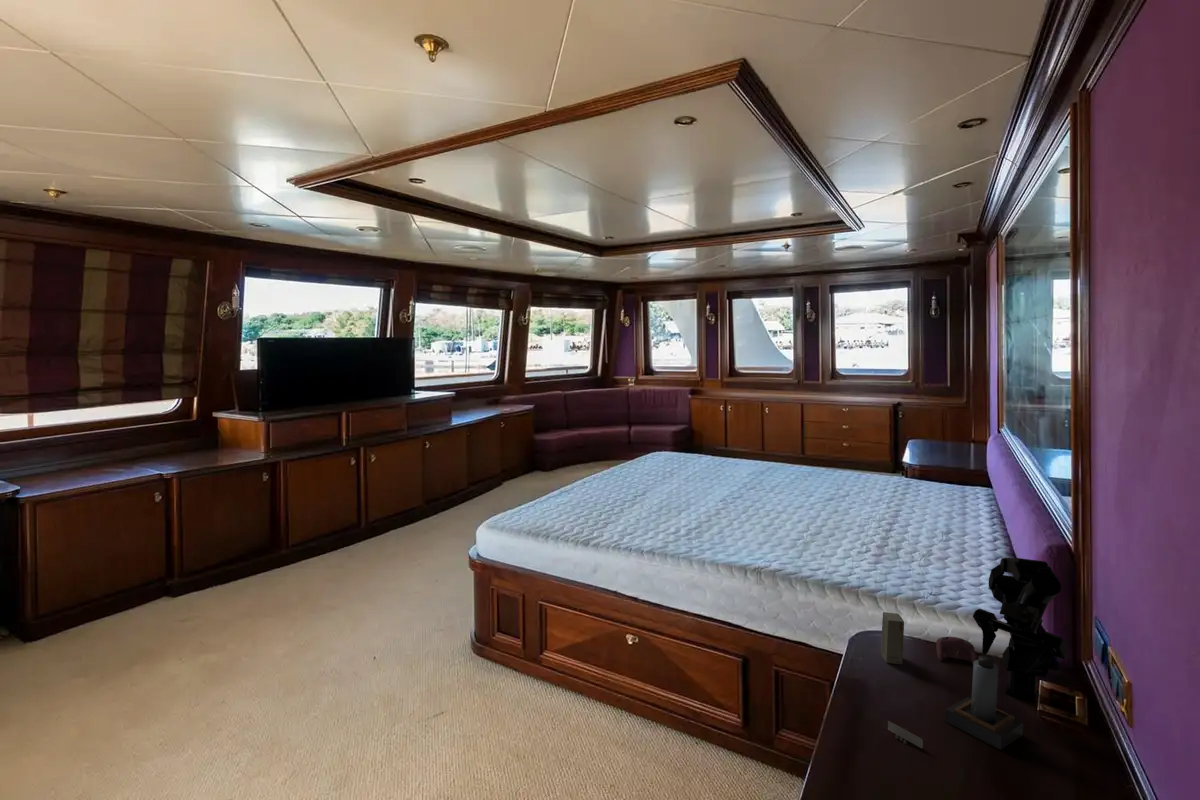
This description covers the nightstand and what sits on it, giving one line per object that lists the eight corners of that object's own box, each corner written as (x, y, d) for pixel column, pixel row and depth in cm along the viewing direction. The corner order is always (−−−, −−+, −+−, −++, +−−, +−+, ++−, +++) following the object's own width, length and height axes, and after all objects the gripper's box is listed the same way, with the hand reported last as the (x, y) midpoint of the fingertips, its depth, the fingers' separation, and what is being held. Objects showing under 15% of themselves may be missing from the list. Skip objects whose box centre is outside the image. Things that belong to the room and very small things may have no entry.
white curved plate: (913, 755, 132) (914, 742, 132) (878, 736, 139) (879, 723, 138) (922, 750, 134) (923, 736, 134) (887, 730, 141) (888, 718, 140)
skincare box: (902, 665, 169) (905, 622, 168) (885, 663, 170) (888, 620, 169) (896, 654, 176) (898, 612, 175) (880, 652, 177) (882, 611, 176)
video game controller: (974, 666, 173) (972, 640, 175) (978, 666, 169) (977, 639, 171) (934, 660, 176) (934, 634, 178) (938, 660, 172) (937, 633, 174)
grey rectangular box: (967, 708, 149) (968, 693, 149) (1022, 735, 139) (1023, 719, 139) (944, 721, 144) (946, 705, 144) (1000, 750, 134) (1001, 733, 134)
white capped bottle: (973, 706, 145) (976, 651, 144) (997, 714, 142) (1000, 658, 140) (968, 715, 141) (971, 659, 140) (993, 724, 138) (996, 666, 137)
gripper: (979, 576, 154) (952, 629, 149) (1066, 603, 138) (1040, 663, 133) (992, 600, 159) (967, 652, 154) (1078, 629, 143) (1053, 688, 138)
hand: (1004, 662), depth 145 cm, fingers open, 9 cm apart
